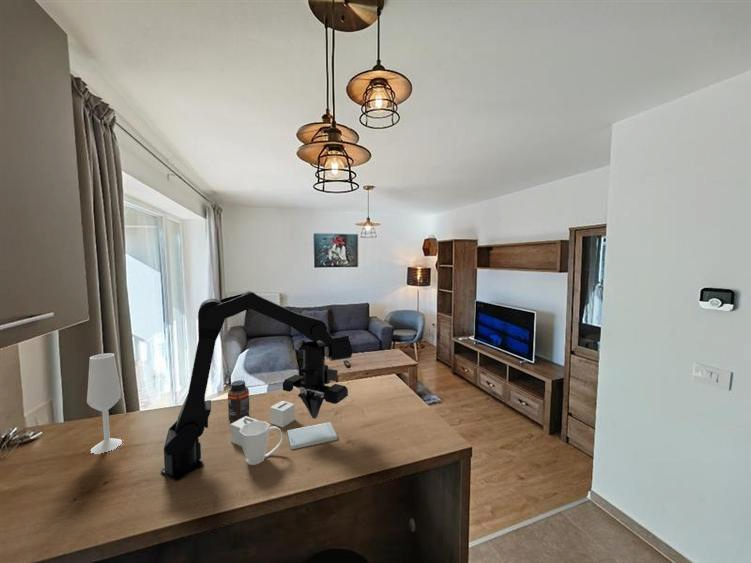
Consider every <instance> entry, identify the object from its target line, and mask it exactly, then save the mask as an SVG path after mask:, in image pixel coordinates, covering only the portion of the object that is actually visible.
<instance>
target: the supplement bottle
mask: <svg viewBox="0 0 751 563" xmlns="http://www.w3.org/2000/svg"><path fill="white" fill-rule="evenodd" d="M227 406H228V407H227V408H228V409H227V411H228V421H229V422H231V423H234V422H236V421H238V420H239V419H241V418H243V417H245V416H247V417H250V416H251V414H250V413H251V412H250V390H249V388H248V387H247V386H246V381H245V380H244V379H242V380H241V379H239V380H235V381H232V382H231V383H230V389H229V390H228V391H227Z"/></svg>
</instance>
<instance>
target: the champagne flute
mask: <svg viewBox="0 0 751 563" xmlns="http://www.w3.org/2000/svg"><path fill="white" fill-rule="evenodd" d="M88 362H89V363H88V364H89V365H88V379H87V381H88V382H87V394H86V403H87V405H88V406H89V407H91V408H92V409H94V410H96V411H99V412H102V427H103V428H102V429H103V440H102V441H100V442H99V443H97V444H96V445H94V446H92V448H91V449H90V451H91V452H90V454H92V453H94V454H93V455H100V454H101V453H103V454H105V453H104V452H107V453H109V452H108V451H110V452H112V451H115V450H117V449H118V448H119V447H118V446H120V445H121V444H122V440H123V439H122V438H115V437H114V438H112V437H111V435H110V434H111V433H110V430H111V429H110V414H109V410H110V409H111V408H113V407H114V406H115V405H116V404H117V403H118V402H119V400H120V399H121V397H122V391H121V385H120V380H119V375H118V369H117V364H116V363H117V362H116V357H115V353H111V352H108V353H100V354H95V355H92V356H90V357H89V361H88ZM121 439H122V440H121ZM122 445H123V444H122ZM122 445H121V446H122ZM121 446H120V447H121ZM117 447H118V448H117ZM116 448H117V449H116ZM114 449H115V450H114ZM111 450H112V451H111ZM101 455H102V454H101Z"/></svg>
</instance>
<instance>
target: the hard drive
mask: <svg viewBox="0 0 751 563" xmlns="http://www.w3.org/2000/svg"><path fill="white" fill-rule="evenodd" d="M286 435H287V439H288V444H289V449H290V450H295V449H299V448H304V447H309V446H314V445H317V444H323V443H327V442H333V441H337V440H338V435H337V433H336V431H335V429H334V427H333V425H332V423H331V422H330V421H329V422H324V423H319V424H314V425H308V426H303V427H298V428H293V429H292V428H291V429H287V430H286Z"/></svg>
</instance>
